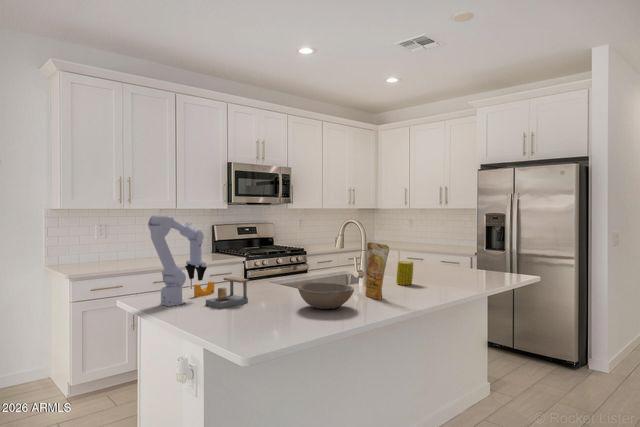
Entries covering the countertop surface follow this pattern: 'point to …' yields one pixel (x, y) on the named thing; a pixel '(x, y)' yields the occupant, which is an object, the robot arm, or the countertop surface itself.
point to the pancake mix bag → (375, 269)
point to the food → (404, 273)
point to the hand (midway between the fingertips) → (195, 279)
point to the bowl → (325, 294)
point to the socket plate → (231, 295)
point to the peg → (222, 294)
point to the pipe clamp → (203, 290)
